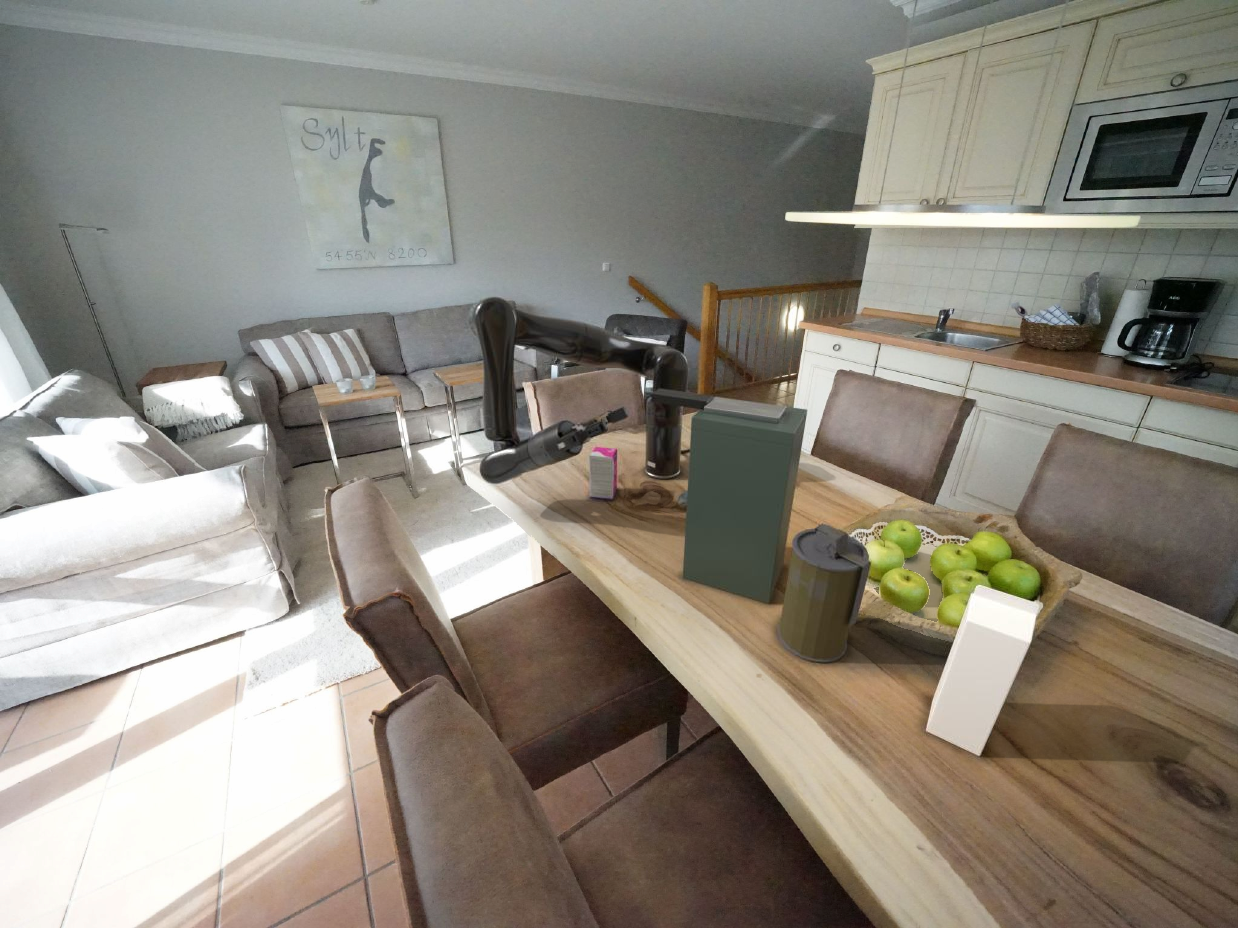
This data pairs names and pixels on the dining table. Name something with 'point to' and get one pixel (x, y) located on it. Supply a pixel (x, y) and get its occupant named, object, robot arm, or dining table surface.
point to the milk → (981, 667)
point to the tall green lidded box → (740, 500)
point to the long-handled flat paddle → (721, 405)
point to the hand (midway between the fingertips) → (616, 418)
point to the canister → (823, 593)
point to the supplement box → (603, 473)
